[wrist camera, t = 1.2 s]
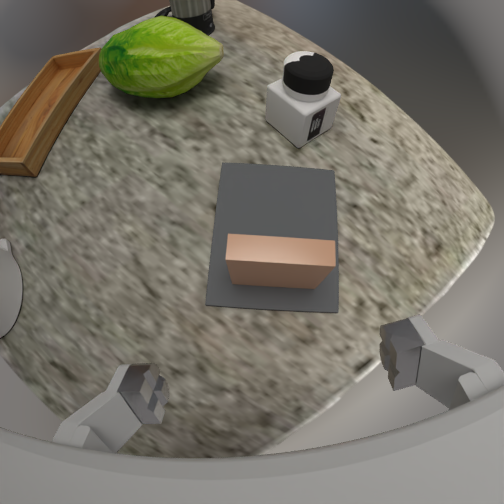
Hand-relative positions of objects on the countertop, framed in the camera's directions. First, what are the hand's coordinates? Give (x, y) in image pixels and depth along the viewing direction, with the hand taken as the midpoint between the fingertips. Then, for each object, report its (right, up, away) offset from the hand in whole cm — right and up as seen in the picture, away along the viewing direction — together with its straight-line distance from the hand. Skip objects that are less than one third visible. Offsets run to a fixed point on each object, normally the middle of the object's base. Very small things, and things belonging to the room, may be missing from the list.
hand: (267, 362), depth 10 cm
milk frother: (-17, +56, +47) cm, 75 cm away
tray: (-43, +32, +39) cm, 66 cm away
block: (+2, +1, +27) cm, 28 cm away
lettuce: (-17, +34, +39) cm, 55 cm away
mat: (+3, +6, +30) cm, 31 cm away
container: (+7, +24, +36) cm, 44 cm away
